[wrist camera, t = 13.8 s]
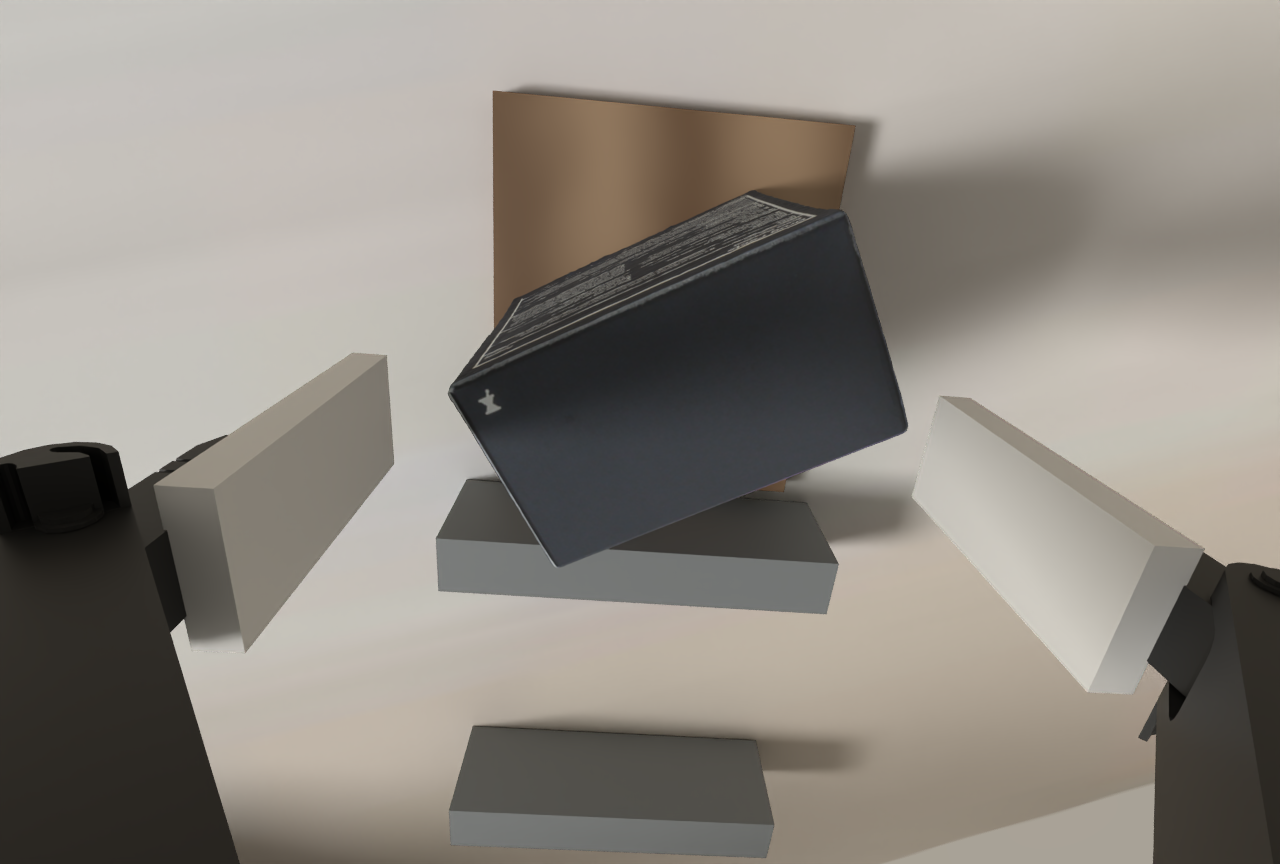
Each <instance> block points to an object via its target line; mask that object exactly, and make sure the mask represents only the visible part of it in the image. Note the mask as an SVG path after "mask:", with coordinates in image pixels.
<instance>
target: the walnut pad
mask: <svg viewBox="0 0 1280 864" xmlns="http://www.w3.org/2000/svg"><path fill="white" fill-rule="evenodd" d="M855 127H856V126H854V125H844V124H833V123H823V122H813V121H802V120H792V119H782V118H771V117H761V116H751V115H740V114H730V113H719V112H709V111H699V110H688V109H678V108H668V107H657V106H647V105H637V104H626V103H616V102H605V101H595V100H585V99H574V98H564V97H554V96H543V95H533V94H523V93H512V92H502V91H493V220H494V328H495V327H496V326H497V325H498V323H499V321H500V320H501V319H502V318H503V316H504V314H505V313H506V312H507V310H508V308H509V306H510V305H511V303H512V301H513V300H514V299H515V298H517V297H520V296H523V295H525V294H527V293H529V292H531V291H533V290H535V289H537V288H539V287H541V286H543V285H546V284H548V283H550V282H552V281H554V280H555V279H557V278H560V277H562V276H564V275H566V274H568V273H569V272H573V271H576V270H577V269H579V268H582V267H584V266H586V265H588V264H590V263H591V262H595V261H597V260H598V259H600V258H602V257H604V256H606V255H610V254H613V253H615V252H617V251H619V250H621V249H623V248H626V247H628V246H630V245H633V244H635V243H637V242H639V241H641V240H643V239H645V238H647V237H649V236H652V235H655V234H657V233H658V232H661V231H664V230H665V229H667V228H668V227H670V226H673V225H676V224H678V223H681V222H683V221H685V220H688V219H690V218H692V217H694V216H696V215H698V214H700V213H703V212H705V211H707V210H709V209H711V208H713V207H716V206H718V205H720V204H722V203H724V202H727V201H729V200H732V199H734V198H736V197H738V196H741V195H743V194H745V193H747V192H749V191H751V190H756V191H757V192H761V193H762V194H765V195H768V196H773V197H774V198H779V199H782V200H787V201H790V202H794V203H799V204H800V205H804V206H810V207H813V208H817V209H818V208H821V209H826V210H828V209H839V208H840V203H841V198H842V193H843V188H844V183H845V178H846V172H847V167H848V162H849V157H850V152H851V147H852V142H853V137H854V132H855ZM785 484H786V479H784V480H782V481H779V482H777V483H774V484H771V485H769V486H766V487H764V488H761V489H759V490H761V491H776V492H784V489H785Z"/></svg>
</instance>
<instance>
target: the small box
mask: <svg viewBox="0 0 1280 864" xmlns="http://www.w3.org/2000/svg"><path fill="white" fill-rule="evenodd" d="M448 395H449V398H450V400H451V401H452V402H453V403H454V405H455V407H456V409H457V410H458V412H459V413H460V414H461V416H462V418H463V420H464V421H465V423H466V424H467V425H468V427H469V429H470V430H471V432H472V434H473V436H474V437H475V439H476V441H477V442H478V444H479V445H480V447H481V449H482V451H483V452H484V454H485V456H486V458H487V459H488V461H489V462H490V464H491V466H492V467H493V469H494V470H495V472H496V473H497V475H498V477H499V478H500V480H501V481H502V483H503V485H504V486H505V488H506V490H507V492H508V493H509V495H510V497H511V499H512V500H513V501H514V503H515V505H516V507H517V508H518V510H519V511H520V513H521V515H522V517H523V518H524V520H525V521H526V523H527V524H528V526H529V528H530V529H531V531H532V533H533V534H534V536H535V538H536V540H537V541H538V543H539V544H540V545H541V547H542V549H543V551H544V553H545V554H546V556H547V557H548V559H549V561H550V562H551V564H552V565H553V566H554V567H556V568H561V567H564V566H566V565H568V564H571V563H573V562H576V561H578V560H581V559H583V558H586V557H588V556H591V555H593V554H596V553H599V552H601V551H604V550H606V549H609V548H612V547H614V546H617V545H619V544H622V543H624V542H627V541H629V540H632V539H634V538H637V537H639V536H642V535H644V534H647V533H649V532H652V531H654V530H657V529H659V528H662V527H664V526H667V525H669V524H672V523H674V522H677V521H679V520H682V519H685V518H687V517H690V516H692V515H695V514H697V513H700V512H702V511H705V510H707V509H710V508H712V507H715V506H718V505H720V504H723V503H725V502H728V501H730V500H733V499H735V498H738V497H740V496H743V495H746V494H748V493H751V492H753V491H756V490H759V489H761V488H764V487H766V486H769V485H771V484H774V483H777V482H779V481H782V480H784V479H787V478H789V477H792V476H794V475H797V474H800V473H802V472H805V471H807V470H810V469H812V468H815V467H818V466H820V465H823V464H825V463H828V462H831V461H833V460H836V459H838V458H841V457H843V456H846V455H849V454H851V453H854V452H856V451H859V450H861V449H864V448H866V447H869V446H872V445H875V444H877V443H880V442H883V441H885V440H888V439H890V438H893V437H895V436H898V435H900V434H903V433H905V432H906V431H907V428H908V422H907V418H906V413H905V409H904V405H903V401H902V397H901V393H900V390H899V386H898V383H897V379H896V376H895V373H894V370H893V366H892V362H891V358H890V355H889V352H888V348H887V344H886V340H885V337H884V334H883V331H882V328H881V324H880V321H879V318H878V314H877V311H876V307H875V304H874V301H873V297H872V293H871V290H870V286H869V283H868V280H867V277H866V274H865V270H864V267H863V264H862V260H861V257H860V254H859V250H858V247H857V244H856V241H855V237H854V233H853V229H852V226H851V224H850V221H849V218H848V216H847V214H846V213H845V212H844V211H842V210H839V209H828V210H826V209H821V208H818V209H817V208H813V207H810V206H804V205H800V204H799V203H794V202H790V201H787V200H782V199H779V198H774V197H773V196H768V195H765V194H762V193H761V192H757V191H756V190H751V191H749V192H747V193H745V194H743V195H741V196H738V197H736V198H734V199H732V200H729V201H727V202H724V203H722V204H720V205H718V206H716V207H713V208H711V209H709V210H707V211H705V212H703V213H700V214H698V215H696V216H694V217H692V218H690V219H688V220H685V221H683V222H681V223H678V224H676V225H673V226H670V227H668V228H667V229H665V230H664V231H661V232H658V233H657V234H655V235H652V236H649V237H647V238H645V239H643V240H641V241H639V242H637V243H635V244H633V245H630V246H628V247H626V248H623V249H621V250H619V251H617V252H615V253H613V254H610V255H606V256H604V257H602V258H600V259H598V260H597V261H595V262H591V263H590V264H588V265H586V266H584V267H582V268H579V269H577V270H576V271H573V272H569V273H568V274H566V275H564V276H562V277H560V278H557V279H555V280H554V281H552V282H550V283H548V284H546V285H543V286H541V287H539V288H537V289H535V290H533V291H531V292H529V293H527V294H525V295H523V296H520V297H517V298H515V299H514V300H513V301H512V303H511V305H510V306H509V308H508V310H507V312H506V313H505V314H504V316H503V318H502V319H501V320H500V321H499V323H498V325H497V326H496V327H495V328H494V330H493V331H492V333H491V335H489V336H488V337H487V338H486V340H485V341H484V342H483V343H482V345H481V347H480V348H479V349H478V350H477V352H476V353H475V354H474V356H473V357H472V358H471V359H470V361H469V363H468V364H467V365H466V366H465V367H464V369H463V370H462V372H461V373H460V375H459V376H458V377H457V379H456V380H455V381H454V382H453V383H452V384H451V386H450V388H449V392H448Z"/></svg>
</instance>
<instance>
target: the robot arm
mask: <svg viewBox="0 0 1280 864" xmlns="http://www.w3.org/2000/svg"><path fill="white" fill-rule="evenodd" d="M393 465H394V454H393V440H392V425H391V411H390V396H389V382H388V367H387V355H375V354H362V353H352V354H350V355H349V356H347V357H346V358H344V359H343V360H341V361H340V362H338V363H337V364H335V365H334V366H332V367H331V368H329V369H328V370H326V371H325V372H323V373H321V374H320V375H318V376H317V377H315V378H314V379H312V380H311V381H309V382H308V383H306V384H305V385H303V386H302V387H300V388H299V389H297V390H296V391H294V392H293V393H291V394H290V395H288V396H287V397H285V398H284V399H282V400H281V401H279V402H278V403H276V404H275V405H273V406H272V407H270V408H269V409H267V410H266V411H264V412H263V413H261V414H260V415H258V416H257V417H255V418H254V419H252V420H251V421H249V422H248V423H246V424H245V425H243V426H242V427H240V428H239V429H237V430H236V431H234V432H233V433H231V434H230V435H225V436H222V437H219V438H216V439H214V440H211V441H208V442H205V443H202V444H200V445H197V446H195V447H194V448H192V449H191V450H189V451H188V452H186V453H184V454H183V455H181V456H180V457H178V458H177V459H176V461H172V462H170V463H169V464H167V465H166V466H164V467H162V468H161V469H160V471H159V472H155V473H153V474H151V475H150V476H148V477H147V478H145V479H144V480H142V481H141V482H139V483H137V484H136V485H134V486H133V487H131V488H130V489H128V488H127V484H126V480H125V476H124V472H123V468H122V464H121V460H120V456H119V452H118V451H117V450H116V449H115V448H114V447H112V446H110V445H105V444H101V443H93V442H72V443H62V444H52V445H46V446H41V447H36V448H32V449H27V450H23V451H20V452H17V453H14V454H11V455H7V456H4V457H1V458H0V864H240V863H239V860H238V856H237V853H236V850H235V846H234V843H233V840H232V836H231V833H230V830H229V826H228V823H227V820H226V817H225V813H224V810H223V807H222V803H221V800H220V797H219V793H218V790H217V787H216V783H215V780H214V777H213V773H212V770H211V767H210V763H209V760H208V757H207V753H206V750H205V747H204V744H203V740H202V737H201V734H200V730H199V727H198V724H197V720H196V717H195V714H194V710H193V707H192V704H191V700H190V697H189V694H188V690H187V687H186V684H185V680H184V677H183V674H182V670H181V667H180V664H179V661H178V657H177V654H176V651H175V647H174V644H173V641H172V637H171V634H170V632H171V631H172V630H173V629H174V628H175V627H176V626H177V625H178V624H179V623H180V622H181V621H182V620H183V619H184V620H185V624H186V628H187V633H188V637H189V641H190V646H191V650H192V651H204V652H225V653H246V652H247V650H248V649H249V648H250V646H251V645H252V644H253V643H254V641H255V640H256V639H257V638H258V636H259V635H260V634H261V632H262V631H263V630H264V629H265V627H266V626H267V625H268V624H269V622H270V621H271V620H272V618H273V617H274V616H275V615H276V613H277V612H278V611H279V610H280V608H281V607H282V606H283V604H284V603H285V602H286V601H287V599H288V598H289V597H290V596H291V594H292V593H293V592H294V590H295V589H296V588H297V587H298V585H299V584H300V583H301V582H302V580H303V579H304V578H305V577H306V575H307V574H308V573H309V571H310V570H311V569H312V568H313V566H314V565H315V564H316V563H317V561H318V560H319V559H320V557H321V556H322V555H323V554H324V552H325V551H326V550H327V549H328V547H329V546H330V545H331V543H332V542H333V541H334V540H335V538H336V537H337V536H338V535H339V533H340V532H341V531H342V529H343V528H344V527H345V526H346V524H347V523H348V522H349V521H350V519H351V518H352V517H353V515H354V514H355V513H356V512H357V510H358V509H359V508H360V507H361V505H362V504H363V503H364V501H365V500H366V499H367V498H368V496H369V495H370V494H371V493H372V491H373V490H374V489H375V487H376V486H377V485H378V484H379V482H380V481H381V480H382V479H383V477H384V476H385V475H386V473H387V472H388V471H389V470H390V468H391V467H392V466H393ZM912 498H913V499H914V500H915V501H916V502H917V503H918V504H919V505H920V507H921V508H922V509H923V510H924V511H925V512H926V513H927V514H928V515H929V517H930V518H931V519H932V520H933V521H934V522H935V523H936V524H937V525H938V527H939V528H940V529H941V530H942V531H943V532H944V533H945V534H946V536H947V537H948V538H949V539H950V540H951V541H952V542H953V543H954V544H955V546H956V547H957V548H958V549H959V550H960V551H961V552H962V553H963V554H964V556H965V557H966V558H967V559H968V560H969V561H970V562H971V563H972V564H973V566H974V567H975V568H976V569H977V570H978V571H979V572H980V573H981V574H982V576H983V577H984V578H985V579H986V580H987V581H988V582H989V583H990V584H991V586H992V587H993V588H994V589H995V590H996V591H997V592H998V593H999V594H1000V596H1001V597H1002V598H1003V599H1004V600H1005V601H1006V602H1007V603H1008V604H1009V606H1010V607H1011V608H1012V609H1013V610H1014V611H1015V612H1016V613H1017V614H1018V616H1019V617H1020V618H1021V619H1022V620H1023V621H1024V622H1025V623H1026V624H1027V626H1028V627H1029V628H1030V629H1031V630H1032V631H1033V632H1034V633H1035V634H1036V636H1037V637H1038V638H1039V639H1040V640H1041V641H1042V642H1043V643H1044V645H1045V646H1046V647H1047V648H1048V649H1049V650H1050V651H1051V652H1052V653H1053V655H1054V656H1055V657H1056V658H1057V659H1058V660H1059V661H1060V662H1061V663H1062V665H1063V666H1064V667H1065V668H1066V669H1067V670H1068V671H1069V672H1070V673H1071V675H1072V676H1073V677H1074V678H1075V679H1076V680H1077V681H1078V682H1079V683H1080V685H1081V686H1082V687H1083V688H1084V689H1085V690H1086V691H1087V692H1089V693H1111V694H1133V693H1134V691H1135V689H1136V687H1137V685H1138V683H1139V681H1140V679H1141V677H1142V675H1143V673H1144V671H1145V669H1146V667H1147V665H1148V663H1149V664H1150V665H1152V666H1153V667H1154V668H1155V669H1156V670H1157V671H1158V672H1159V673H1160V674H1161V675H1162V676H1163V677H1164V678H1166V679H1167V680H1168V681H1167V683H1166V685H1165V687H1164V689H1163V691H1162V693H1161V695H1160V696H1159V698H1158V700H1157V702H1156V704H1155V706H1154V708H1153V710H1152V712H1151V714H1150V716H1149V718H1148V720H1147V722H1146V724H1145V726H1144V727H1143V729H1142V731H1141V733H1140V735H1139V737H1138V738H1140V739H1142V740H1144V741H1148V739H1149V738H1150V736H1151V735H1155V734H1156V765H1155V809H1154V810H1155V811H1154V852H1153V864H1280V570H1279V569H1274V568H1268V567H1264V566H1260V565H1256V564H1248V563H1232V564H1228V565H1227V567H1225V566H1224V565H1222V564H1221V563H1219V562H1218V561H1216V560H1215V559H1213V558H1211V557H1210V556H1208V555H1207V554H1205V553H1204V550H1205V549H1204V548H1203V547H1201V546H1200V545H1198V544H1197V543H1195V542H1194V541H1192V540H1190V539H1189V538H1187V537H1186V536H1184V535H1183V534H1181V533H1180V532H1178V531H1176V530H1175V529H1173V528H1172V527H1170V526H1169V525H1167V524H1166V523H1164V522H1162V521H1161V520H1159V519H1158V518H1156V517H1155V516H1153V515H1152V514H1150V513H1148V512H1147V511H1145V510H1144V509H1142V508H1141V507H1139V506H1138V505H1136V504H1134V503H1133V502H1131V501H1130V500H1128V499H1127V498H1125V497H1124V496H1122V495H1120V494H1119V493H1117V492H1116V491H1114V490H1113V489H1111V488H1109V487H1108V486H1106V485H1105V484H1103V483H1102V482H1100V481H1099V480H1097V479H1095V478H1094V477H1092V476H1091V475H1089V474H1088V473H1086V472H1085V471H1083V470H1081V469H1080V468H1078V467H1077V466H1075V465H1074V464H1072V463H1071V462H1069V461H1067V460H1066V459H1064V458H1063V457H1061V456H1060V455H1058V454H1057V453H1055V452H1053V451H1052V450H1050V449H1049V448H1047V447H1046V446H1044V445H1043V444H1041V443H1039V442H1038V441H1036V440H1035V439H1033V438H1032V437H1030V436H1029V435H1027V434H1025V433H1024V432H1022V431H1021V430H1019V429H1018V428H1016V427H1015V426H1013V425H1011V424H1010V423H1008V422H1007V421H1005V420H1004V419H1002V418H1000V417H999V416H997V415H996V414H994V413H993V412H991V411H990V410H988V409H986V408H985V407H983V406H982V405H980V404H979V403H977V402H976V401H974V400H972V399H971V398H962V397H949V396H939V400H938V404H937V407H936V411H935V414H934V418H933V421H932V425H931V429H930V432H929V436H928V439H927V443H926V447H925V450H924V454H923V457H922V461H921V465H920V468H919V472H918V475H917V479H916V483H915V486H914V490H913V493H912Z"/></svg>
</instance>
